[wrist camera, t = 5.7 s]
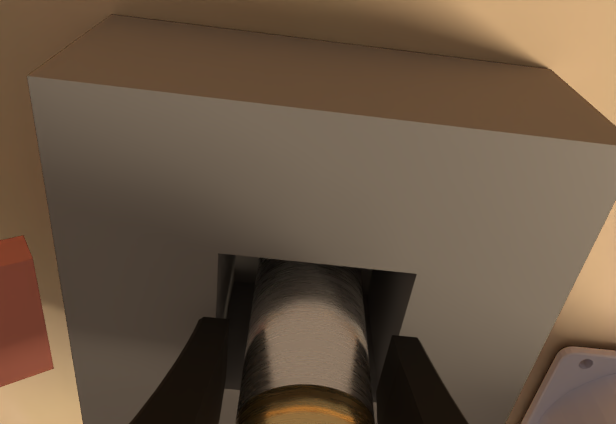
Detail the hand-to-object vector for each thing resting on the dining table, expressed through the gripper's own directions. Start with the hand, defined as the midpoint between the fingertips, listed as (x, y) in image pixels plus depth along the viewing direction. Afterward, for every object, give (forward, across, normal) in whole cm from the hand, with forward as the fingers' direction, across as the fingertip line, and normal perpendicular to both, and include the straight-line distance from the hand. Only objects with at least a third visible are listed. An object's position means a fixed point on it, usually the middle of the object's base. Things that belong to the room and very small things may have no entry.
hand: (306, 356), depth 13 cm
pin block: (+6, 0, 0) cm, 6 cm away
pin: (+5, 0, 0) cm, 5 cm away
